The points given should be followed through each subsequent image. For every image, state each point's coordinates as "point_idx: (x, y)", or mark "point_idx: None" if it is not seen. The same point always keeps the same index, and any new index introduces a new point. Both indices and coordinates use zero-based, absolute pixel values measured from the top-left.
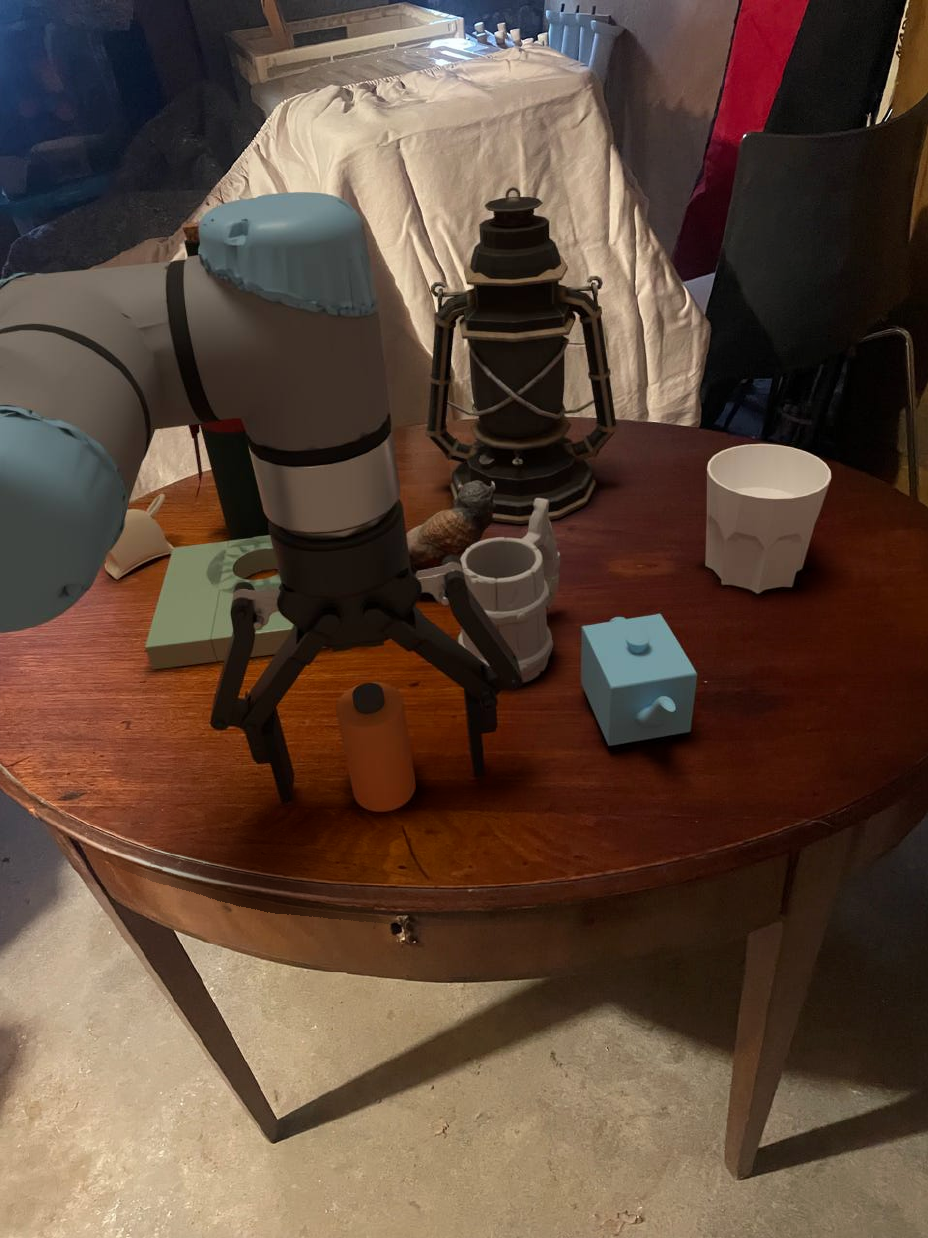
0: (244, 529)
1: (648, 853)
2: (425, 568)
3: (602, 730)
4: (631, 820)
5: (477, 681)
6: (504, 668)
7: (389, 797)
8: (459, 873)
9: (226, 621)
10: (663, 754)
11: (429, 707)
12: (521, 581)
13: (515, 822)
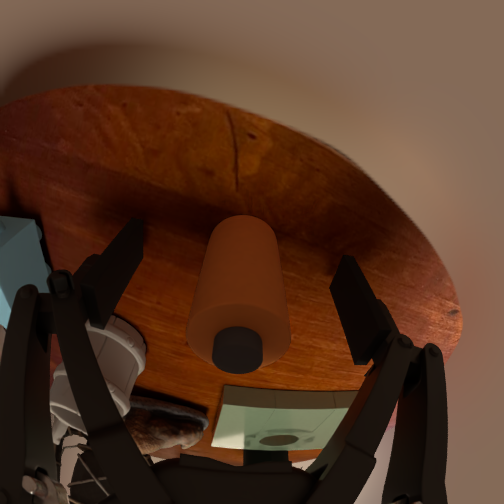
0: (279, 452)
1: (35, 102)
2: (164, 420)
3: (37, 237)
4: (36, 138)
5: (58, 316)
6: (19, 317)
7: (242, 223)
8: (192, 108)
9: (319, 417)
10: (12, 203)
11: (179, 319)
12: (56, 399)
13: (120, 158)
